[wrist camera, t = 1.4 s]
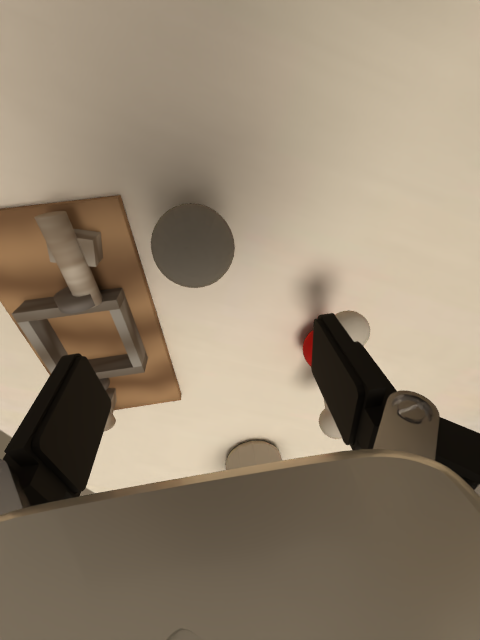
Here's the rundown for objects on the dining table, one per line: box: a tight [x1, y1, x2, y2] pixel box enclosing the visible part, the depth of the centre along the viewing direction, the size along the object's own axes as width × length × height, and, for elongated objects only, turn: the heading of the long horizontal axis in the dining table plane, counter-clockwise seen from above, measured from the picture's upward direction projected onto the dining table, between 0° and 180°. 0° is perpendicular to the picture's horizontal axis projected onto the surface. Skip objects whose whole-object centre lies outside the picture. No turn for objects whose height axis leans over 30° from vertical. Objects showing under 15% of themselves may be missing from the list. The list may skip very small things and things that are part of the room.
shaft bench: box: [0, 195, 181, 431], centre depth 29 cm, size 26×14×5 cm, turn 5°
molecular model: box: [303, 311, 370, 439], centre depth 32 cm, size 18×6×10 cm, turn 13°
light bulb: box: [151, 203, 235, 288], centre depth 22 cm, size 6×6×10 cm
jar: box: [226, 441, 282, 470], centre depth 42 cm, size 10×10×18 cm
